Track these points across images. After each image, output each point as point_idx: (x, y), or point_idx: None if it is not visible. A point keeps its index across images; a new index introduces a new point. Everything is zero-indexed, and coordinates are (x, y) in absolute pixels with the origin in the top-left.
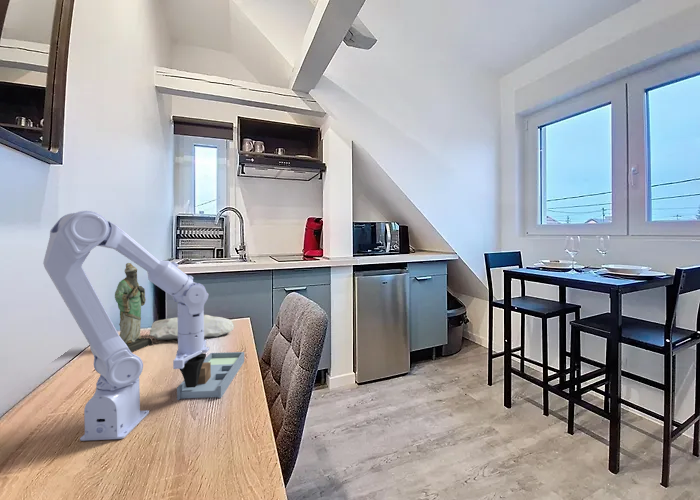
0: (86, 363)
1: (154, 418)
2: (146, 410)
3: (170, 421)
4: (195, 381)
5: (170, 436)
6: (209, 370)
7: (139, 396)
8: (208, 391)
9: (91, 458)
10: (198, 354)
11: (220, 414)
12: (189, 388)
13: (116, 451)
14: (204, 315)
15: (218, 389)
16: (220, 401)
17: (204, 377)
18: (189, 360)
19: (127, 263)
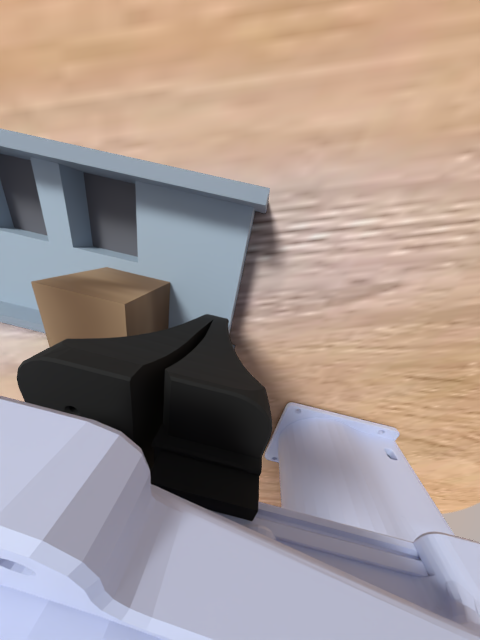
0: None
1: (323, 387)
2: (286, 410)
3: (365, 351)
4: (227, 328)
5: (463, 341)
6: (90, 277)
7: (336, 482)
8: (242, 260)
9: (436, 456)
10: (241, 539)
11: (423, 184)
12: None
13: (442, 429)
14: None
15: (265, 207)
16: (297, 200)
17: (155, 292)
18: (256, 497)
19: None
